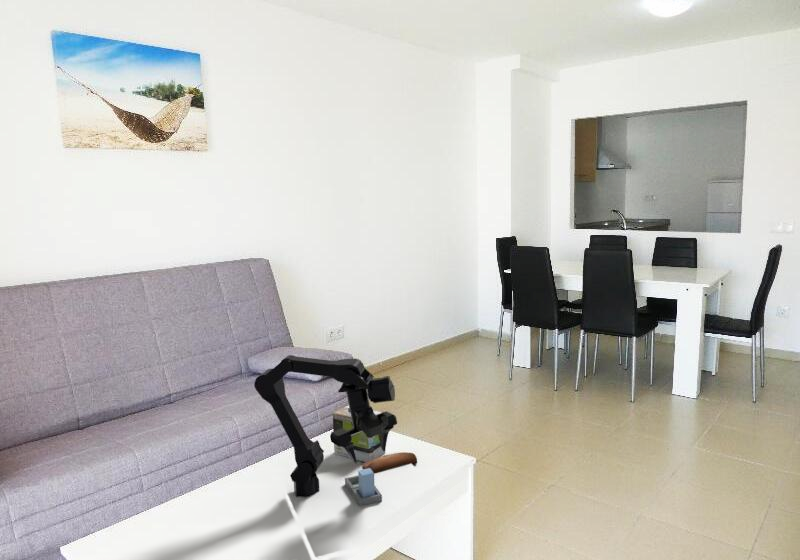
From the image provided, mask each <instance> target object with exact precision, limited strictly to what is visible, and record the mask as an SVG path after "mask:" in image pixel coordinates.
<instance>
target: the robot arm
mask: <svg viewBox="0 0 800 560" xmlns="http://www.w3.org/2000/svg"><path fill="white" fill-rule="evenodd" d="M289 373H295V374H296V373H298V374H306V375H314V376H319V377H320V376H322V377H327V378H328V377H329V378H331V379H333V380H335V381H337V382H340V383H342V384H341V387H340V388H339V389H338V390H337V391H338V393H346V397H347V403H348V405H349V408H348V411H349V412H350V413H351V418H352V422H351V426H353V429H350V430H348V431H347V430H345V429H343V428H341V429H338V430H336V431H333V430H332V431H331V433H330V435H329V437H330V442H331V443H332V444H333V445H334V444H335V445H337V446H339V447H340V446H341V447H343V448H345V450H346V451H347V453H348V454H349V456H350V457H351V458H350V459H351V460H352V462H353V463H354V464H357V461H358V460H356V456H355V453H354V449H353V442H351V440H352V438H351V437H352V436H354V435H357V434H359V433H362V432H364V433H365V435H366V436H367V437H368V438H372V437H374V436H375V435H378V436H379V441H380V445H381V448H382V451H385V452H386V449H387V447H386V446H387V441H388V435H389V432H391V430H392V429H394V427H395V426H396V425H397V424H398V418H397V416H396V415H395V414H393V413H391V412H389V411H383V413H380V414H377V415H375V414H374V412H373V406H371V404H370V402H372V403H373V404H377V403H385V402H394V401H395V399H396V390H395V385H394V384H393V380H392V379H391V376H390V375H385V376H383V377H375V376H374V374H372V373H371V372H370V371H369V370H368V369H366V367H365V364H364V363H363V362H362V360H361V359H359V358H343V359H336V360H330V359H329V360H328V359H320V358H313V357H305V356H304V357H303V356H295V355H293V354H288V355H286V356H285V357H284V358H283V359H282V360H281V361H280V362H279V363H278V364H277V365H276V366H275V367H274V368H269V369H266V370H264V371H263V372H262V373H261V374H260V375H258V376H257V377H256V378H255V379H254V380H255V381H254V383H253V384H254V385H253V387H254V389H255V391H256V392H257V393H258V395H259V396H260V397H261V398H262V400H264V401H265V402H267V403H268V404H270V406H271V407H272V409H273V412H274V413H275V415H276V416H277V417H276V418H277V419H278V420H279V423H280V424H281V426H282V428H283V430H284V432H285V434H286V436H287V438H288V439H289V441H290V443H291V445H292V447H293V451H294V453H293V454H294V460H295V463H296V467H295V468H294V469H293V470H292V472H291V473H290V475H289V476H290V479H291V481H292V482H293V490H294V491H293V492H294V494H295V496H296V497H297V498H298V497H301V498H306V497H307V498H308V497H311V496H314V495H315V494H316V493H318V492H320V479H319V477H318V475H317V471H318V469H319V468H320V467H321V466H322V464H323V462H324V458H325V456H324V452H325V450H324V449H323V448H322V446H321V445H320V442H319V440H317V439H316V440H315V441H313V440H311V439H310V438H309V437H308V435H307V434H306V431H305V429H304V428H303V425H302V424H301V422H300V419H298V416H297V414H296V412H295V410H294V409H293V406H292V405H291V402H290V400H289V399H288V397H287V395H286V386H285V382H284V379H283V377H285V376H286V375H287V374H289Z"/></svg>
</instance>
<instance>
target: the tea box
mask: <svg viewBox="0 0 800 560" xmlns="http://www.w3.org/2000/svg"><path fill="white" fill-rule="evenodd" d="M348 408H349V404H348V405H347V406H343V407H342V408H339V410H336V411H333V412H332V427H333V428H332V429H333V430H332V432H333V431H336V430H338V429H341V428H343V429H345V430H347V431H348V430H350V429H353V426H351V422H352V418H351V413H350V412H349V411H348ZM372 409H373V408H372ZM373 412H374V414H375V415H377V414H380V413H383V412H384V411H383V410H378V409H373ZM351 438H352V440H351V442H353V449H354V453H355V456H356V461H359V462H364V463H366V462H369V461H372V460H375V459H376V458H378V457H381V456H384V454H385V453H386V450H385V451H382V448H381V445H380V441H379V436H378V435H375V436H374V437H372V438H368V437H367V436H366V435H365V433H364V432H362V433H359V434H357V435H354V436H352V437H351ZM333 447H334V448H333V449H334V450H333V451H334V454H336V455H339V456H342V457H343V456H344V457H346V458H349V459H351V457H350V456H349V454H348V453H347V451H346V450H345V448H343V447H341V446H340V447H339V446H337V445H335V444H334V443H333Z"/></svg>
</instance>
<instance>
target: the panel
mask: <svg viewBox="0 0 800 560" xmlns="http://www.w3.org/2000/svg"><path fill="white" fill-rule="evenodd" d="M344 485H345V486H346V488H347V490H348V491H349V493H350V494H351V496H352V497H353V498H354V501H355V502H356V503H357V505H358V506H359V507H360V508H361V507H364V506H365V507H366V506H370V505H373V504H377V503H381V502H383V495H382V493H381V491H380V490H379V489H378V488H377V486H376V485H375V484H374V486H375V495H373V496H369V497H364V498H361V497H360V496H359V477H358V475H353V476H350V477H345V478H344Z"/></svg>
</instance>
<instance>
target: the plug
mask: <svg viewBox="0 0 800 560" xmlns="http://www.w3.org/2000/svg"><path fill="white" fill-rule="evenodd" d="M357 472H358V475H357V476H358V477H359V496H360V497H361V498H364V497H369V496H373V495H375V487H376V485H375V473H373V471H372V470H371V469H370V468H367V469H363V468H362V469H359V470H358V471H357ZM374 485H375V486H374Z"/></svg>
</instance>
